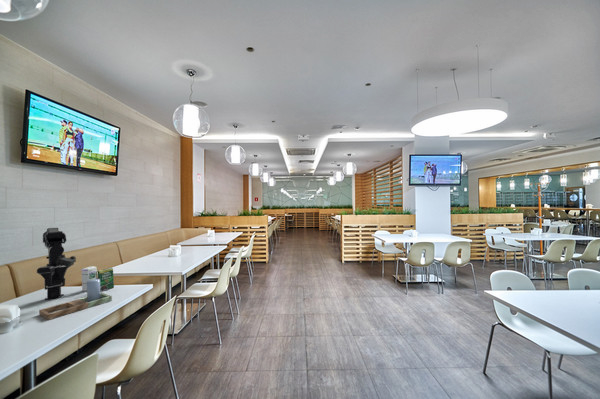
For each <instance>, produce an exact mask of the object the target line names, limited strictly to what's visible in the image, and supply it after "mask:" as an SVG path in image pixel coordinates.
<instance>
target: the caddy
mask: <svg viewBox="0 0 600 399" xmlns="http://www.w3.org/2000/svg"><path fill="white" fill-rule="evenodd" d="M100 295H101V299H98V300H95V301H91V302H88V303H87V296H85V297H81V298H78V299H73V300H70V301H68V302H64V303H61V304H60V303H59V304H56V305H52V306H50V307H46V308H42V309H39V310H38V315H39V316H40V317H42V318H44V319H45V320H47V321H49V320H52V319H56V318H59V317H62V316H66V315H69V314H71V313H75V312H79V311H82V310H86V309H88V308H92V307H96V306H98V305H102V304H105V303H107V302H111V301H113V296H112V295H109V294H106V293H104V292H100Z"/></svg>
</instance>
